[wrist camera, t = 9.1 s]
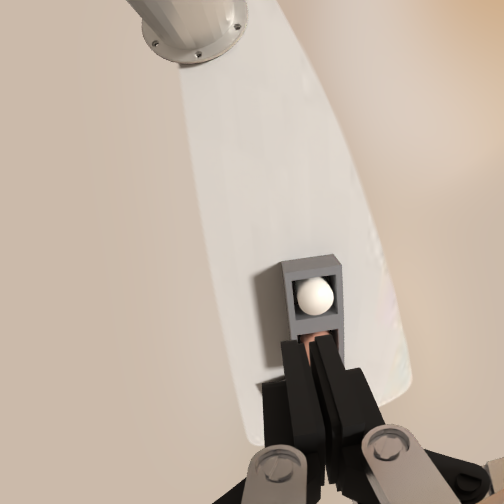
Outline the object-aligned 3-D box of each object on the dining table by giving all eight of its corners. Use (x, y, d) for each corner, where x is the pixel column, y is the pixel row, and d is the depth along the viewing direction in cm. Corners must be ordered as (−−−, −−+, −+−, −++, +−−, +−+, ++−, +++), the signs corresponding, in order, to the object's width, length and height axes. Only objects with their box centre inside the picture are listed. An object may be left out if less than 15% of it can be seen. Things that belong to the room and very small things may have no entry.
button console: (281, 261, 39) (284, 273, 35) (333, 254, 38) (341, 264, 35) (292, 357, 43) (295, 374, 39) (337, 349, 42) (344, 366, 39)
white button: (292, 272, 39) (296, 285, 35) (325, 268, 39) (332, 280, 35) (295, 302, 40) (300, 317, 36) (327, 297, 40) (334, 312, 36)
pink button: (298, 326, 40) (303, 343, 36) (329, 321, 40) (336, 338, 36) (301, 352, 41) (305, 370, 37) (330, 347, 41) (337, 364, 37)
